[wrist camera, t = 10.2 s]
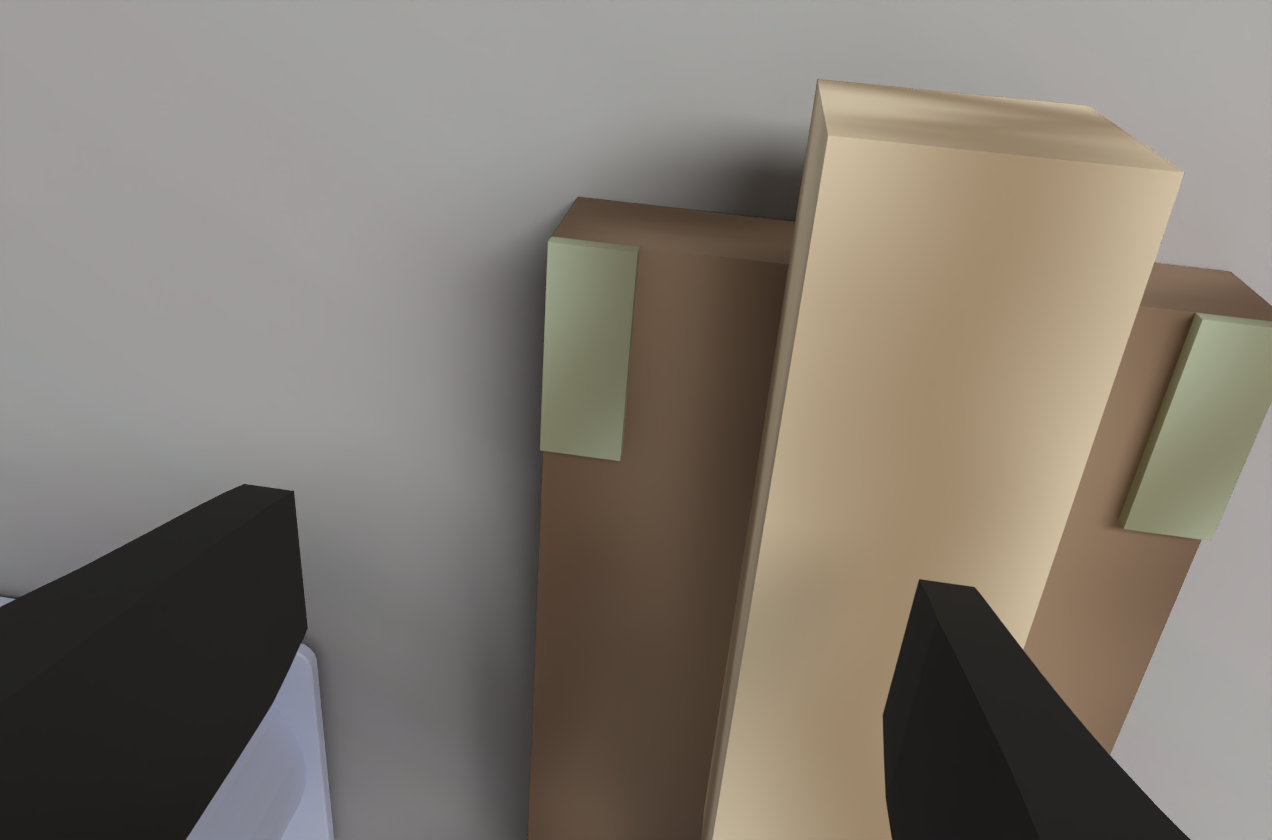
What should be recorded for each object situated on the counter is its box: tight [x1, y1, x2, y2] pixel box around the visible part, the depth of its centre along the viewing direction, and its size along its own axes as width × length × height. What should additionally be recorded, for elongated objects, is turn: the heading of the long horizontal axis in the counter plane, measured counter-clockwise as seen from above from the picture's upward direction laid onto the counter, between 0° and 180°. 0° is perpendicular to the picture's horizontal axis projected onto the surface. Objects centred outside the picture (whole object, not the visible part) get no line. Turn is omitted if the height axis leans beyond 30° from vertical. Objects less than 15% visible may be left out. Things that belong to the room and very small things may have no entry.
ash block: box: [701, 79, 1185, 840], centre depth 17 cm, size 4×16×4 cm, turn 176°
